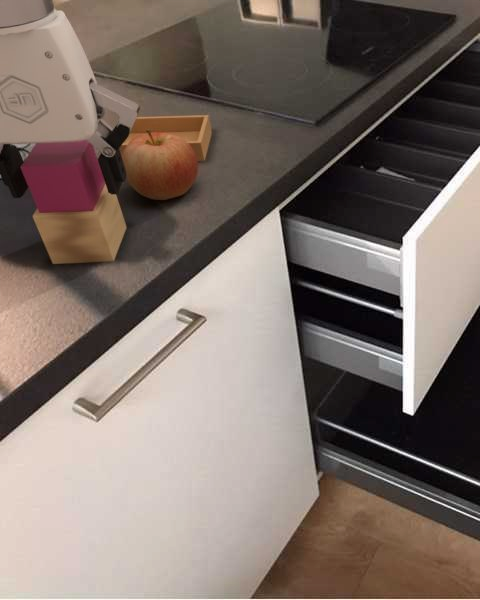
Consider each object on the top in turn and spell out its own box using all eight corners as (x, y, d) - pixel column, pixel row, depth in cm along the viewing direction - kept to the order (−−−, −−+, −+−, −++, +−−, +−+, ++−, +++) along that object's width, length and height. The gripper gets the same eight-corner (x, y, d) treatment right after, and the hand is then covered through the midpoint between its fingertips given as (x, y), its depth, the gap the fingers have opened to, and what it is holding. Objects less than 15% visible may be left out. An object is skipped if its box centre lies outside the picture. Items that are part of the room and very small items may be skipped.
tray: (114, 165, 81) (107, 145, 79) (127, 137, 86) (121, 117, 85) (205, 162, 82) (200, 142, 80) (212, 134, 87) (208, 114, 86)
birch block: (53, 265, 66) (32, 216, 62) (70, 231, 71) (51, 183, 67) (114, 263, 67) (97, 213, 63) (127, 228, 71) (112, 180, 67)
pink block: (39, 213, 63) (19, 167, 59) (55, 185, 66) (37, 140, 63) (93, 211, 63) (76, 165, 60) (105, 183, 67) (91, 138, 63)
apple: (116, 196, 76) (96, 133, 70) (170, 168, 81) (155, 107, 75) (162, 220, 72) (144, 155, 67) (216, 189, 77) (203, 126, 72)
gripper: (-140, 19, 49) (-39, 214, 60) (100, 15, 50) (154, 206, 62) (-93, -12, 54) (-9, 172, 66) (122, -15, 56) (168, 166, 67)
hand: (70, 188), depth 64 cm, fingers open, 8 cm apart
